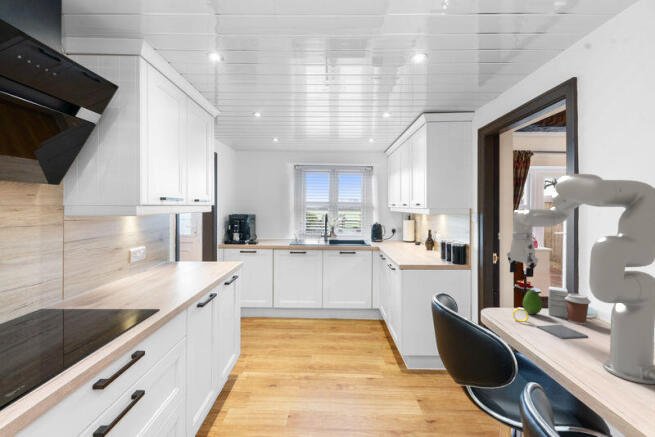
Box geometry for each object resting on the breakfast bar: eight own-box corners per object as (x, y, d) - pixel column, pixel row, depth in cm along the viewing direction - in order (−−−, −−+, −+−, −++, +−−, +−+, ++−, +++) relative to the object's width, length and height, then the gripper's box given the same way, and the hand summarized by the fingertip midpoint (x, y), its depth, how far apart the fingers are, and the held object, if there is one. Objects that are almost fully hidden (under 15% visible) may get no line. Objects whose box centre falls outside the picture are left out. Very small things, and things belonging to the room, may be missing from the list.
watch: (526, 321, 142) (528, 308, 141) (528, 323, 139) (529, 310, 139) (511, 319, 143) (513, 306, 143) (513, 321, 141) (514, 308, 141)
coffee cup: (559, 319, 143) (560, 294, 143) (571, 317, 147) (571, 292, 146) (582, 326, 135) (583, 299, 134) (594, 323, 138) (595, 297, 138)
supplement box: (548, 311, 156) (548, 286, 155) (566, 314, 151) (567, 288, 151) (548, 315, 150) (548, 289, 149) (567, 318, 145) (568, 291, 145)
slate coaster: (588, 337, 123) (588, 335, 123) (561, 338, 122) (561, 337, 121) (561, 326, 135) (561, 324, 135) (536, 327, 133) (536, 325, 133)
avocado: (523, 315, 149) (524, 290, 149) (521, 310, 156) (522, 286, 156) (543, 317, 146) (544, 292, 145) (540, 312, 153) (541, 288, 152)
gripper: (545, 238, 132) (544, 278, 133) (515, 235, 149) (514, 270, 150) (529, 238, 131) (528, 279, 132) (501, 235, 148) (500, 270, 149)
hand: (521, 274), depth 141 cm, fingers open, 9 cm apart
